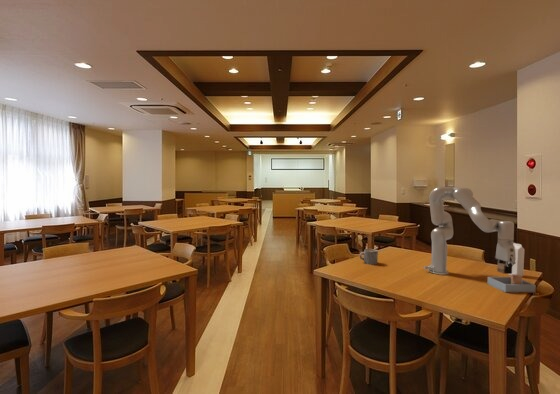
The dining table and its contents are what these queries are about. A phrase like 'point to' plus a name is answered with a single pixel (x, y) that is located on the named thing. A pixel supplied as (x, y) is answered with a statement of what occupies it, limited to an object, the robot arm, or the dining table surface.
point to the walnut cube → (502, 268)
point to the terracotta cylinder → (516, 279)
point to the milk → (518, 260)
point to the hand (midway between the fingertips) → (504, 271)
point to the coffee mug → (370, 256)
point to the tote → (511, 285)
